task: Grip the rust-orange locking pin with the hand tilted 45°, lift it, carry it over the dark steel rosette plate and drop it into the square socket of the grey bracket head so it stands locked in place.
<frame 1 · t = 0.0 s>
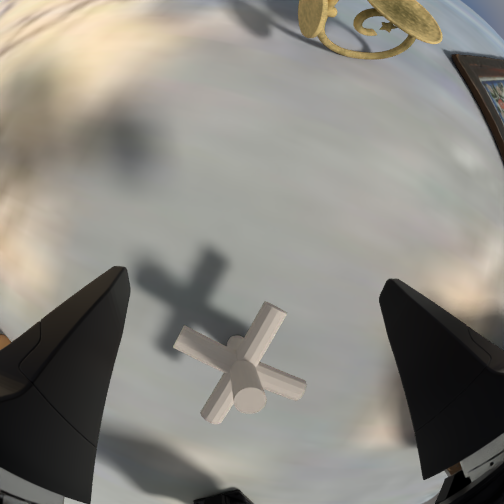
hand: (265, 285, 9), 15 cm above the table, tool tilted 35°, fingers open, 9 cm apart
wall sconce: (346, 56, 25), on the table
locking pin: (5, 349, 20), on the table
pipe connector: (236, 344, 24), on the table
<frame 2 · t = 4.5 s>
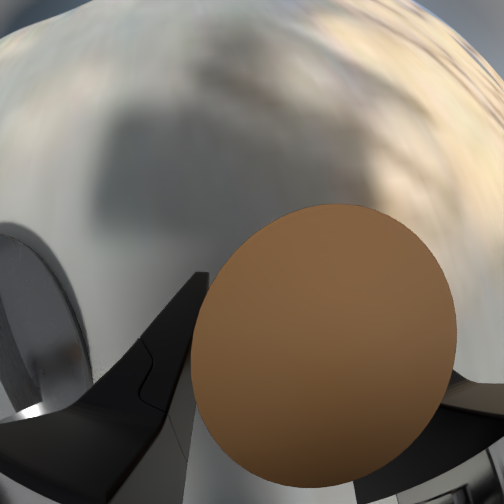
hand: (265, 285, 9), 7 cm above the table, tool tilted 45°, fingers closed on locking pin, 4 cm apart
locking pin: (243, 322, 15), on the table, touching gripper
when the fingers open (8 cm above the table, at t = 8.9 s): locking pin stays where it is, resting on rosette plate.
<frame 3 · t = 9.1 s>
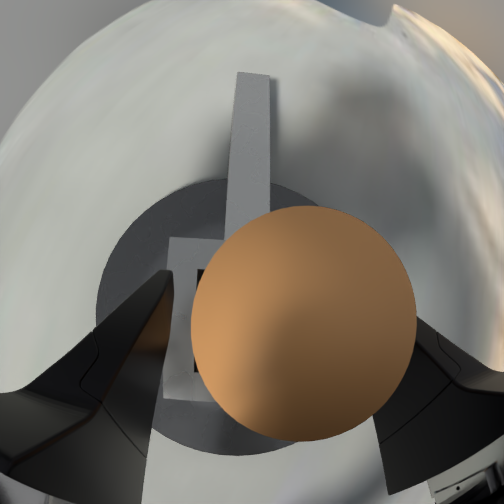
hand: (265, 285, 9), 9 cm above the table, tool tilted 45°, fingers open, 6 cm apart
locking pin: (241, 321, 16), point 1 cm above the table, touching rosette plate
rosette plate: (240, 320, 17), on the table
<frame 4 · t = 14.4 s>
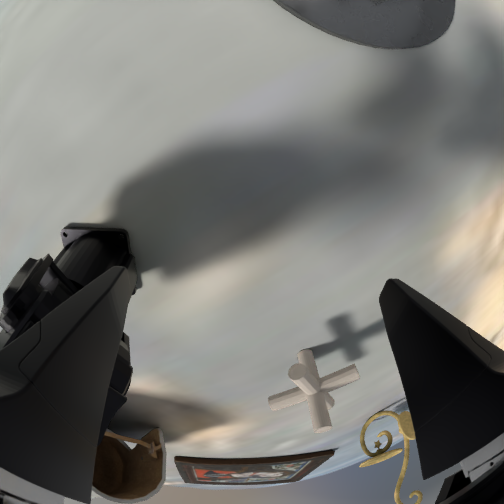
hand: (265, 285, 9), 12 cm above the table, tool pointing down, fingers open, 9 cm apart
wall sconce: (375, 412, 47), on the table
religious icon: (249, 469, 68), on the table
helmet: (108, 420, 42), on the table
pipe connector: (304, 352, 31), on the table
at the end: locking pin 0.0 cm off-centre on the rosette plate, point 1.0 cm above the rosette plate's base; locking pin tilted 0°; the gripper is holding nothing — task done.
